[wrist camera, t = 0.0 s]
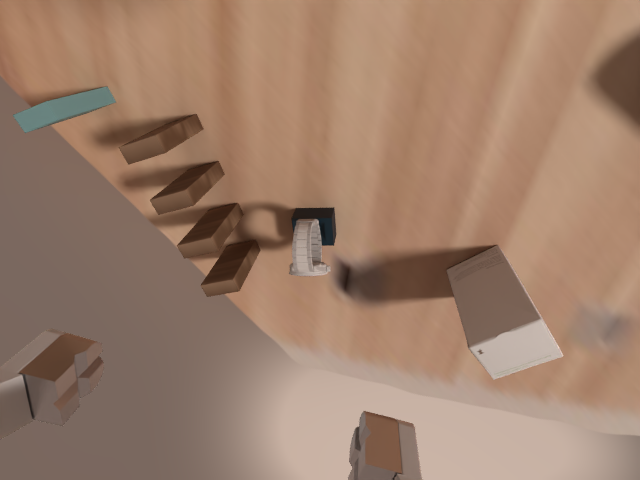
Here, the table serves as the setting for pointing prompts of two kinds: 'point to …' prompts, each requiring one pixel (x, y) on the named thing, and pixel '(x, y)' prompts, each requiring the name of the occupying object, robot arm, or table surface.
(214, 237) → the walnut domino
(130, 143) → the walnut domino
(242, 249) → the walnut domino
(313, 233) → the watch
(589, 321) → the table surface
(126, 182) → the table surface
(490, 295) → the skincare box
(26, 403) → the robot arm
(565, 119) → the table surface
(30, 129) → the teal domino
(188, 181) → the walnut domino
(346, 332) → the table surface
